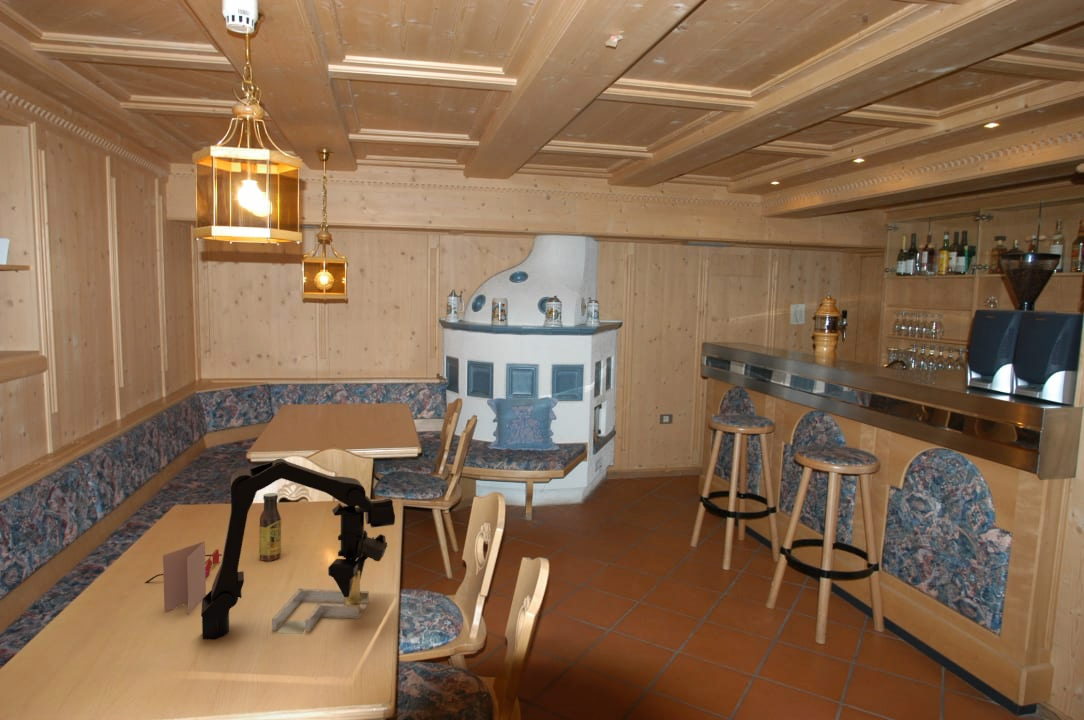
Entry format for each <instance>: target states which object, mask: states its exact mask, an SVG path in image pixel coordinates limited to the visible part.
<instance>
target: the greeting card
mask: <svg viewBox="0 0 1084 720" xmlns="http://www.w3.org/2000/svg"><path fill="white" fill-rule="evenodd" d="M205 546H206V541H201V542H198V543H195V544H192V545H189V546H187V547H186V546H185V547H184V548H181V549H177V550H174V551H172V552H168V553H165V554H163V555H162V566H163V567H162V568H163V569H162V571H163V573H162V574H163V575H162V576H163V603H164V604H163V607H164V608H163V610H164V613H166V611H167V612H169V611H171V609H172V610H174V609H176V607H177V608H178V606H179V607H181V606H183V604H184V605H186V604H187V612H188V613H187V615H188V616H190V615H191V613H192V612H193V611H194V610H195V609H196V608H197V606H198V605H199V604H200V603H201V602H202V599H203V598H204V597H205V596H206V595H207V589H206V587H207V585H206V582H207V581H206V579H207V577H205V567H206V565H205V563H206V556H205V555H206V547H205ZM200 601H201V602H200ZM199 602H200V603H199ZM180 605H181V606H180ZM173 608H174V609H173ZM194 608H195V609H194ZM193 609H194V610H193ZM168 610H169V611H168ZM192 610H193V611H192ZM191 611H192V612H191Z"/></svg>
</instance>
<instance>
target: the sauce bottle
mask: <svg viewBox="0 0 1084 720" xmlns="http://www.w3.org/2000/svg"><path fill="white" fill-rule="evenodd" d="M278 498H279V496H278V493H276V492H267V493H264V494H263V511H262V512H261V514H260V516H259V527H258V528H259V529H258V531H259V533H258V535H259V537H258V539H259V540H258V541H259V542H258V543H259V545H258V549H259V550H258V551H259V552H258V554H259V559H260V560H261V561H267V562H269V561H274V560H278V559H279V558H280V557H281V552H282V518H281V515H280V513H279V509H278Z"/></svg>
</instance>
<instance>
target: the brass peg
mask: <svg viewBox="0 0 1084 720" xmlns="http://www.w3.org/2000/svg"><path fill="white" fill-rule="evenodd" d="M357 571H358V572H357V574H356V575H355V576H354V577H353V578H352V581H351V588H350V594H349V597H344V603H343V605H360V591H361V579H360V570H359V569H357Z"/></svg>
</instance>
